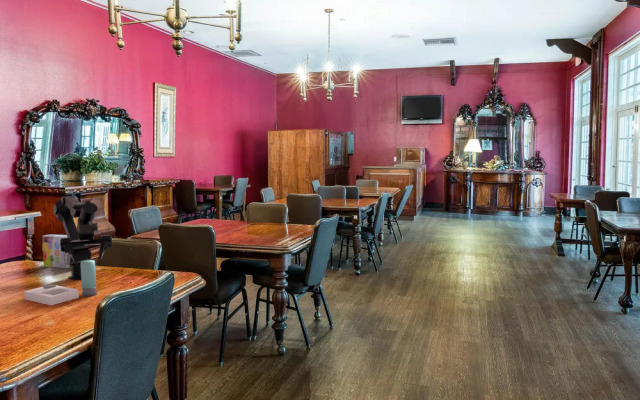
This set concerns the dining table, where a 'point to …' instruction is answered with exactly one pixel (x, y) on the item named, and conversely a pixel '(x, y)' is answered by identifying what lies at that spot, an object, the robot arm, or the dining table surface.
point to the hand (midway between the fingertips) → (87, 260)
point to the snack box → (54, 252)
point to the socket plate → (51, 294)
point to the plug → (88, 278)
